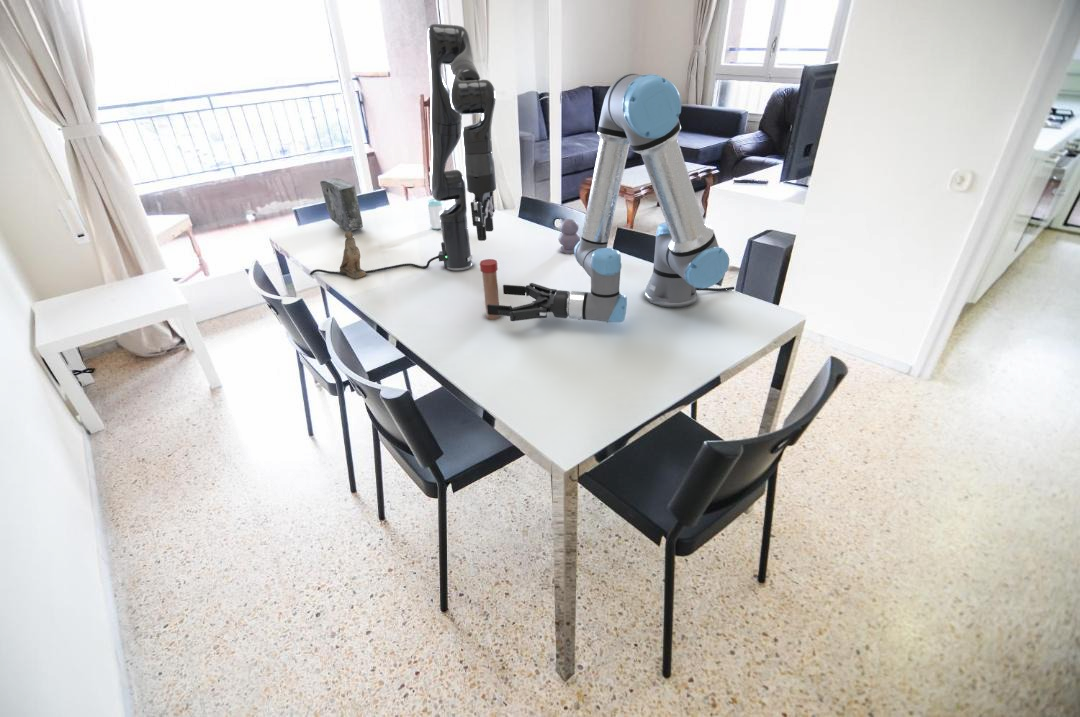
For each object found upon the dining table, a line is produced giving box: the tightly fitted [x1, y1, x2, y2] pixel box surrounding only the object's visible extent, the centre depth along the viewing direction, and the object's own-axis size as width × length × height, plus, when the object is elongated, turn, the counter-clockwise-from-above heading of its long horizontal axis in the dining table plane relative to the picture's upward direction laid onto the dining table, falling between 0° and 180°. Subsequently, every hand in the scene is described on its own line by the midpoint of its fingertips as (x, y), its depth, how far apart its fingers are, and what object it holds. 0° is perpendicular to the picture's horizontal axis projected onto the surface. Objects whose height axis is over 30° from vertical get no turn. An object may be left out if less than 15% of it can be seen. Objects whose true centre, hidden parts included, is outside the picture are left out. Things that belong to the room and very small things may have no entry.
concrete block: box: [319, 177, 364, 232], centre depth 222 cm, size 27×9×20 cm, turn 36°
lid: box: [479, 258, 499, 273], centre depth 137 cm, size 5×5×2 cm
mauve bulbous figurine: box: [558, 218, 581, 254], centre depth 188 cm, size 8×8×12 cm
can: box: [426, 198, 445, 230], centre depth 220 cm, size 7×7×12 cm
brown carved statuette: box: [339, 230, 367, 280], centre depth 174 cm, size 12×6×18 cm, turn 43°
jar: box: [481, 271, 501, 320], centre depth 141 cm, size 4×4×16 cm
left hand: (485, 235), depth 133 cm, fingers open, 7 cm apart
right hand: (495, 298), depth 141 cm, fingers open, 13 cm apart
